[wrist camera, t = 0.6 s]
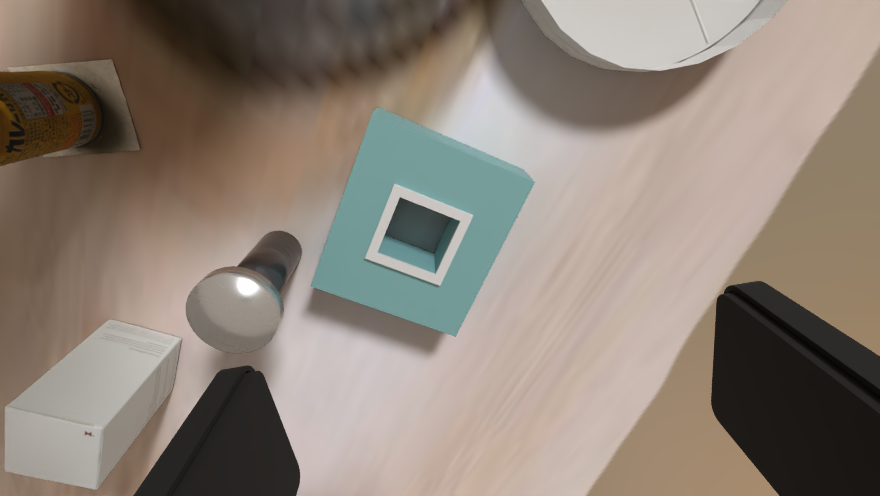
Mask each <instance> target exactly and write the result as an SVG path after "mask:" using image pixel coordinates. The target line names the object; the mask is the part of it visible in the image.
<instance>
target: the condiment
mask: <svg viewBox="0 0 880 496" xmlns="http://www.w3.org/2000/svg"><path fill="white" fill-rule="evenodd" d="M7 69H8V72H0V166H3V165H6V164H9V163H14V162H18V161H21V160H25V159H29V158H33V157H38V156H41V155H42V156H43V158H46V157H58V156H71V155H84V154H98V153H111V152H123V151H137V150H140V147H139V144H138V141H137V136H136V133H135V129H134V126H133V123H132V119H131V115H130V112H129V109H128V106H127V103H126V98H125V96H124V94H123V91H122V89H121V85H120V81H119V78H118V75H117V73H116V70H115V67H114V64H113V61H112V59H108V60H95V61H83V62H70V63H58V64H45V65H33V66H20V67H7ZM91 85H93V86H94V88H92V87H91ZM96 88H98V89H99V90H100V91H98V90H97V89H96ZM101 137H102V138H101Z"/></svg>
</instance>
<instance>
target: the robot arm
mask: <svg viewBox="0 0 880 496" xmlns="http://www.w3.org/2000/svg"><path fill="white" fill-rule="evenodd" d="M711 405H712V409H713V412H714V414H715V416H716V418H717V420H718V421H719V422H720V424H721V425H722V426H723V427H724V429H725V430H726V431H727V432H728V433H729V435H730V436H731V437H732V438H733V440H734V441H735V442H736V443H737V444H738V446H739V447H740V448H741V449H742V450H743V452H744V453H745V454H746V455H747V457H748V458H749V459H750V460H751V461H752V463H753V464H754V465H755V466H756V468H757V469H758V470H759V471H760V472H761V474H762V475H763V476H764V477H765V479H766V480H767V481H768V482H769V483H770V485H771V486H772V487H773V488H774V490H775V491H776V492H777V493H778V494H779V496H880V356H878V355H876V354H875V353H874V352H872V351H871V350H869V349H867V348H866V347H864V346H863V345H861V344H860V343H858V342H857V341H855V340H853V339H852V338H850V337H849V336H847V335H846V334H844V333H842V332H841V331H839V330H838V329H836V328H835V327H833V326H832V325H830V324H828V323H827V322H825V321H824V320H822V319H820V318H819V317H818V316H816V315H814V314H813V313H811V312H810V311H808V310H806V309H805V308H804V307H802V306H800V305H799V304H797V303H796V302H794V301H793V300H791V299H789V298H788V297H786V296H785V295H783V294H781V293H780V292H779V291H777V290H775V289H774V288H772V287H771V286H769V285H768V284H766V283H764V282H762V281H756V282H749V283H743V284H737V285H731V286H728V287H727V288H726V289H725V291H724V294H722V295H720V296H719V297H718V298H717V304H716V322H715V341H714V359H713V377H712V396H711ZM299 483H300V469H299V465H298V463H297V460H296V457H295V455H294V452H293V450H292V447H291V445H290V442H289V439H288V437H287V434H286V432H285V429H284V426H283V424H282V421H281V419H280V416H279V414H278V411H277V408H276V406H275V403H274V401H273V398H272V395H271V393H270V390H269V388H268V385H267V383H266V380H265V377H264V375H263V374H262V373H261V372H260V371H255V370H254V369H253V368H252V367H251V366H242V367H236V368H230V369H224V370H221V371H219V372H218V373H217V374H216V376H215V377H214V379H213V380H212V382H211V383H210V385H209V386H208V388H207V389H206V391H205V392H204V393H203V395H202V396H201V398H200V399H199V401H198V402H197V404H196V405H195V407H194V408H193V410H192V411H191V412H190V414H189V415H188V417H187V418H186V420H185V421H184V423H183V424H182V426H181V427H180V429H179V430H178V431H177V433H176V434H175V436H174V437H173V439H172V440H171V442H170V443H169V445H168V446H167V448H166V449H165V450H164V452H163V453H162V455H161V456H160V458H159V459H158V461H157V462H156V464H155V465H154V467H153V468H152V469H151V471H150V472H149V474H148V475H147V477H146V478H145V480H144V481H143V483H142V484H141V486H140V487H139V488H138V490H137V491H136V493H135V494H134V496H296V494H297V490H298V487H299Z"/></svg>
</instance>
